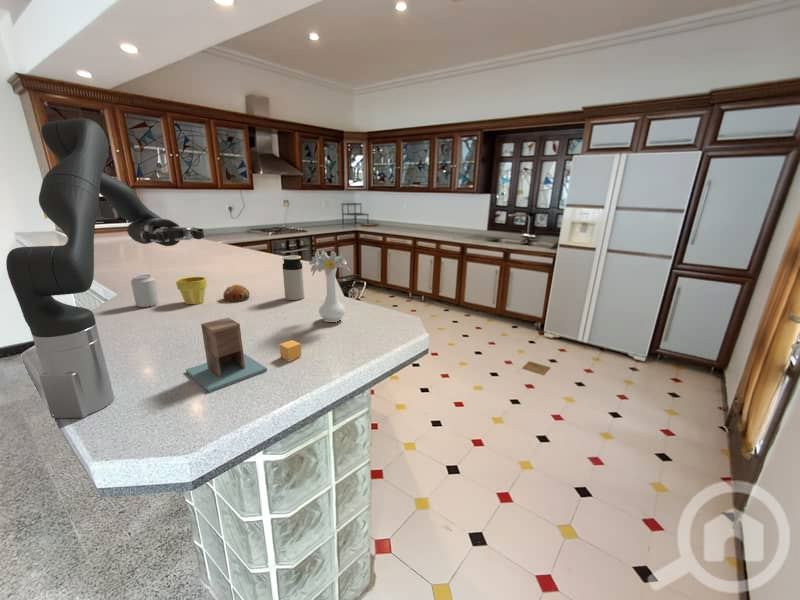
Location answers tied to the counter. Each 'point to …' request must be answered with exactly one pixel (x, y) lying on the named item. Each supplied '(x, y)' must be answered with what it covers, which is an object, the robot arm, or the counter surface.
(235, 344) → the walnut cover
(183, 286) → the plant pot
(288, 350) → the orange block
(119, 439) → the counter surface
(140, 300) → the can
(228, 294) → the bread roll
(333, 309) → the flower vase
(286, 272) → the travel mug
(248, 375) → the teal mat
